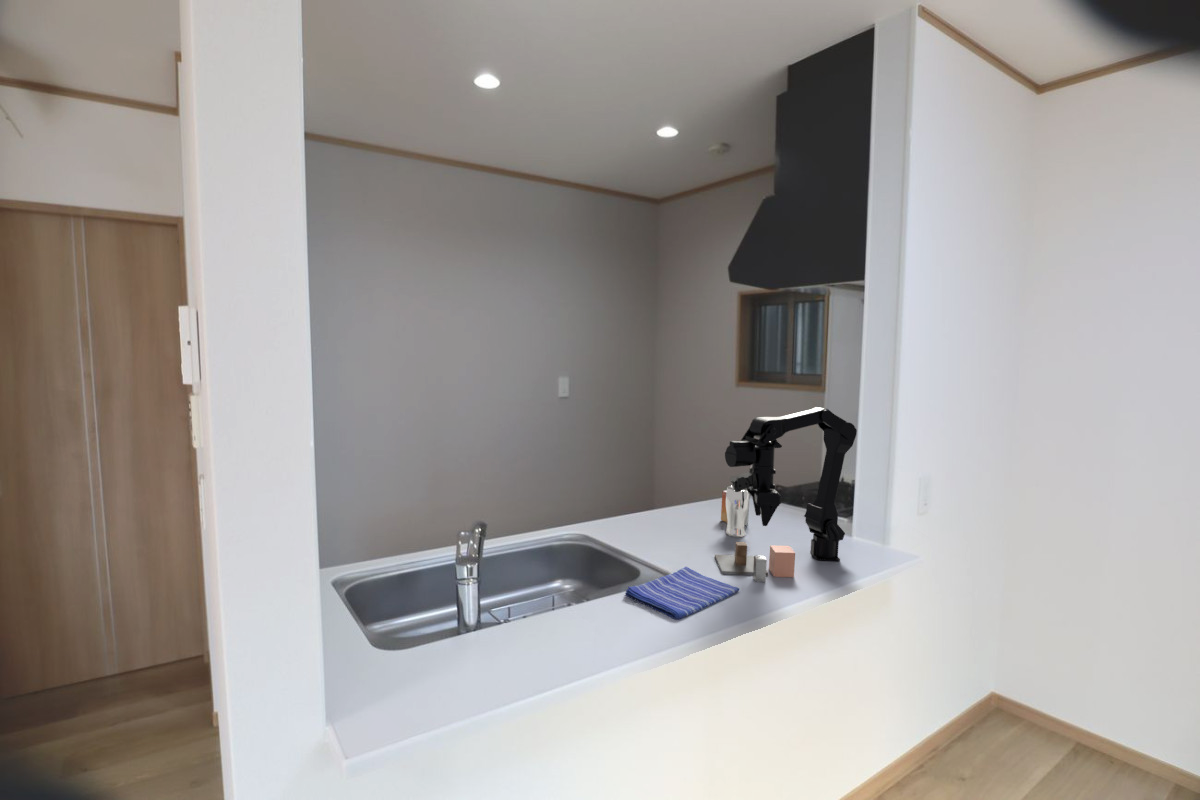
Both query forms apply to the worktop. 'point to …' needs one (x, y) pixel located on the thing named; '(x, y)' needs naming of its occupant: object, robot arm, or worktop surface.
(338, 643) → the worktop surface
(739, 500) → the beer glass
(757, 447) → the robot arm
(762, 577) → the post steel
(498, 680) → the worktop surface
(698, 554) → the worktop surface
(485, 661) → the worktop surface
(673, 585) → the dish towel
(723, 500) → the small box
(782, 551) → the salmon pink block
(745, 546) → the plate
